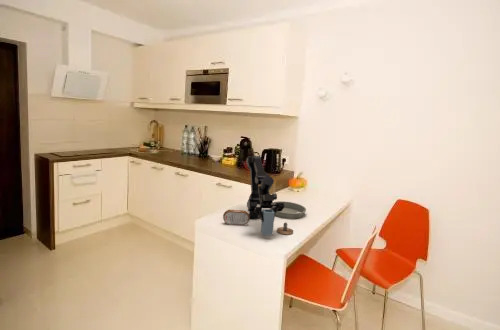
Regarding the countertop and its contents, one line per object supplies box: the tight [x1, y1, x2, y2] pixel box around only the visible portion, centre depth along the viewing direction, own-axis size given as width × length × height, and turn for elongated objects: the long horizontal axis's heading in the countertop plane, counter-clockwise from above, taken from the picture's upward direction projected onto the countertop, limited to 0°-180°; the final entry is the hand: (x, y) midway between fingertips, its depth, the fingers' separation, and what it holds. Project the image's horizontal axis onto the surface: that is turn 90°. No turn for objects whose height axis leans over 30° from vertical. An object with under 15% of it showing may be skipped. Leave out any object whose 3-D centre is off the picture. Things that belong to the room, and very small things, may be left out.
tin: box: [222, 209, 251, 226], centre depth 163 cm, size 15×3×8 cm, turn 92°
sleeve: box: [260, 208, 275, 236], centre depth 148 cm, size 5×5×12 cm
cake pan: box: [269, 200, 307, 220], centre depth 190 cm, size 25×25×4 cm
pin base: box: [276, 221, 294, 236], centre depth 158 cm, size 9×9×5 cm
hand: (268, 221), depth 147 cm, fingers closed on sleeve, 5 cm apart
